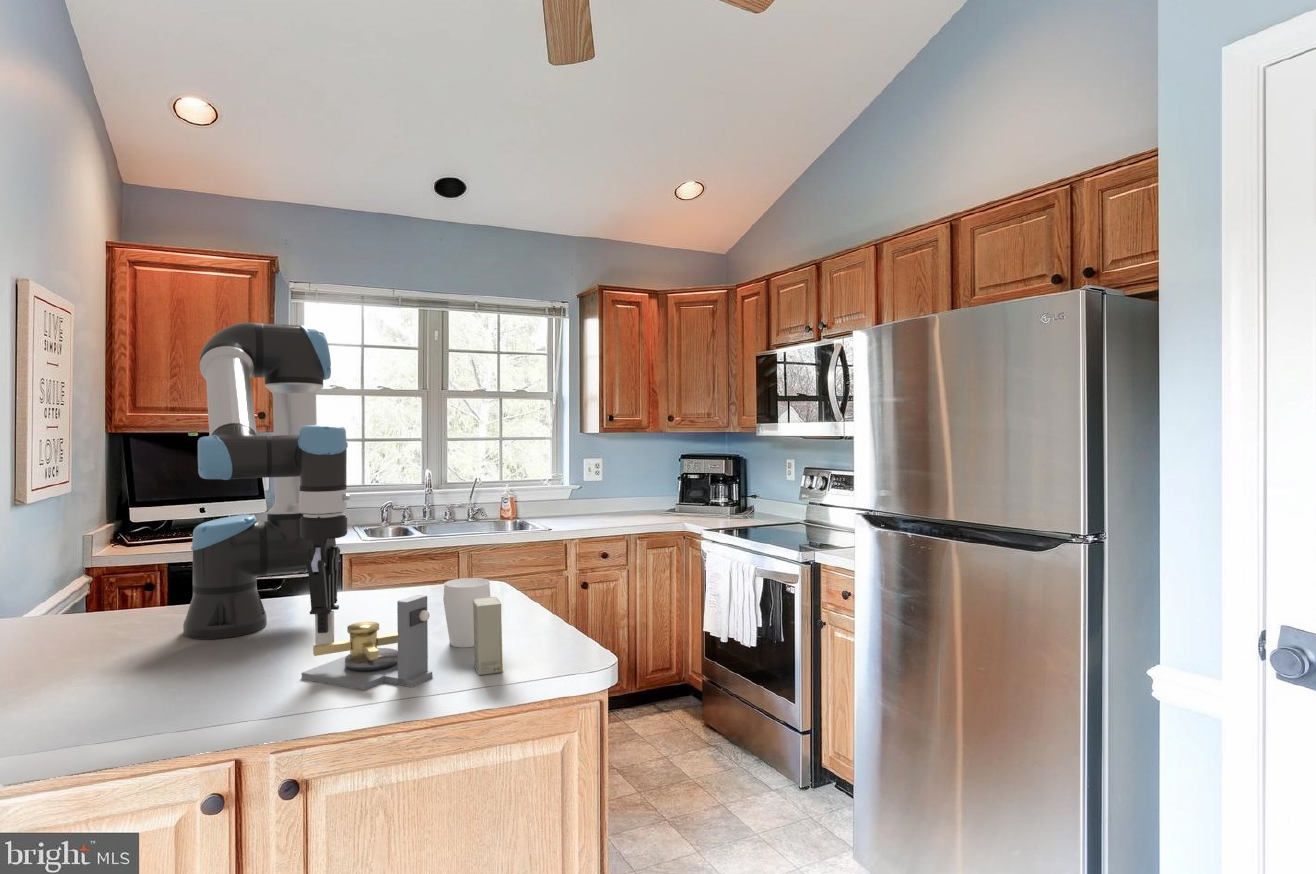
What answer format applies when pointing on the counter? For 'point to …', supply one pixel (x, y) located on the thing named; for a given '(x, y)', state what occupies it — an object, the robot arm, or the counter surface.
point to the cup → (463, 608)
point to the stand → (409, 654)
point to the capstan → (363, 648)
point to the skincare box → (487, 635)
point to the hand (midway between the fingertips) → (324, 649)
